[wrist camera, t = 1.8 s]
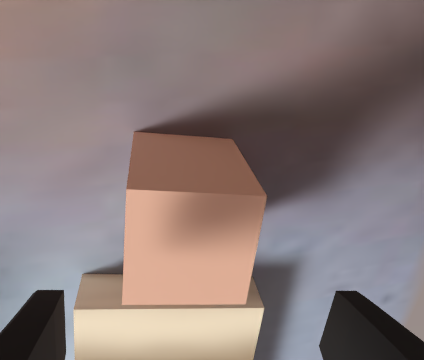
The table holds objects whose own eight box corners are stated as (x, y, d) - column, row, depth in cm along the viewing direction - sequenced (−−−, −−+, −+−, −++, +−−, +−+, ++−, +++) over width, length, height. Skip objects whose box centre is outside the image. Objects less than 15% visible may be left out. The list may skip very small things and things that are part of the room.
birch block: (228, 383, 25) (238, 428, 23) (85, 390, 24) (76, 439, 21) (250, 270, 22) (264, 308, 19) (83, 269, 20) (73, 309, 18)
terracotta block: (219, 222, 20) (245, 304, 14) (129, 219, 19) (122, 304, 14) (232, 138, 18) (267, 196, 13) (134, 131, 17) (126, 189, 12)
